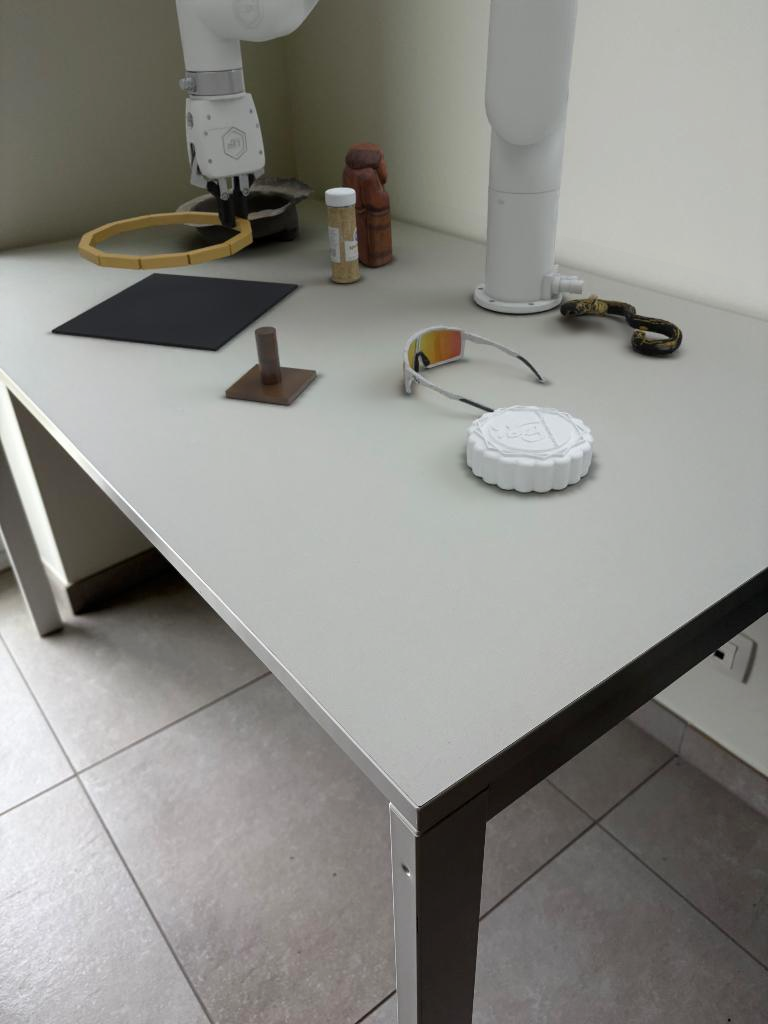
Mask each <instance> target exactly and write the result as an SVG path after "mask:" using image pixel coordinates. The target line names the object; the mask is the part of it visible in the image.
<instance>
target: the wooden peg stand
mask: <svg viewBox="0 0 768 1024" xmlns="http://www.w3.org/2000/svg"><path fill="white" fill-rule="evenodd" d="M254 337H255V345H256V352H257V353H256V354H257V360H258V363H256V364H254V365H253V367H251V368H250V369H249V370H248V371H247V372H246V373H244V374H243V375H242V376H241V377H240V378H239V379H237V380H236V381H235V382H234V383H232V385H230V386H229V388H226V390H225V397H226V398H231V399H237V400H246V401H252V402H260V403H269V404H277V405H285V406H290V405H291V404H292V403H293V401H295V399H297V397H299V395H300V394H301V393H303V391H304V390H305V389H306V388H307V387H308V386H309V385H310V384H311V383H312V382H313V381H314V380H315V378H317V370H315V369H306V368H296V367H287V366H281V361H280V352H279V345H278V336H277V329H276V328H275V327H274V326H260V327H258V328H257V327H256V328H255V329H254Z"/></svg>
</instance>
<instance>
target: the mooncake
mask: <svg viewBox="0 0 768 1024" xmlns="http://www.w3.org/2000/svg"><path fill="white" fill-rule="evenodd" d="M594 441H595V438H594V437H593V436H592V430H591V429H590V427H588V426H587V425H585V424H584V422H583V420H581V419H579V418H577V417H573V416H572V415H571V414H570V412H569V413H568V412H564V411H559V410H557V409H556V408H554V407H539V406H537V405H528V406H525V405H519V404H516V405H513V406H510V407H498V408H496V410H495V411H494V412H489V413H488V412H484V413H483V414H482V415H481V416H480V418H475V419H474V420H473V421H472V422H471V426H470V427H468V428H467V430H466V450H465V451H466V453H465V454H466V464H467V466H468V467H469V468H471V472H472V473H473V475H475V476H476V477H479V478H482V480H483V481H484V482H485V483H487V484H489V485H497V486H498V487H499V488H500V489H502V490H508V491H509V490H515V491H517V492H519V493H530V492H537V493H547V492H549V491H551V490H556V491H557V490H559V491H560V490H564V489H565V488H567V487H568V485H575V484H578V482H580V480H581V478H582V477H585V476H586V475H587V474H588V473H589V469H590V466H591V464H592V459H593V457H592V456H593V449H594Z"/></svg>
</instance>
